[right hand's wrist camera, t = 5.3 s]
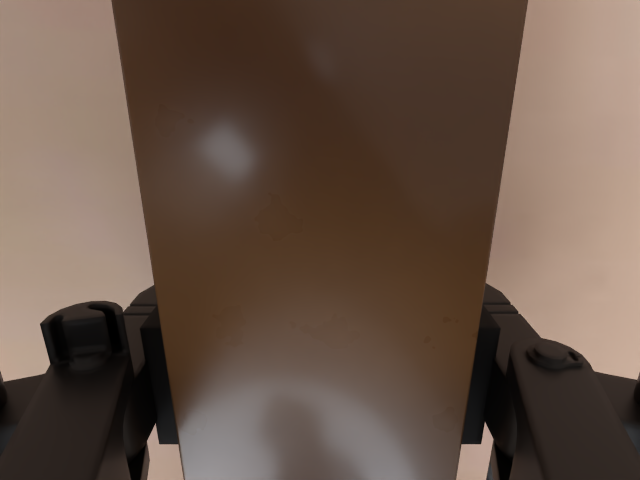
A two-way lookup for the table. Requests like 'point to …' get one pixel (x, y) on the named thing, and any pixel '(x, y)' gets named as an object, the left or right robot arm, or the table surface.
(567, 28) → the table surface
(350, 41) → the post
